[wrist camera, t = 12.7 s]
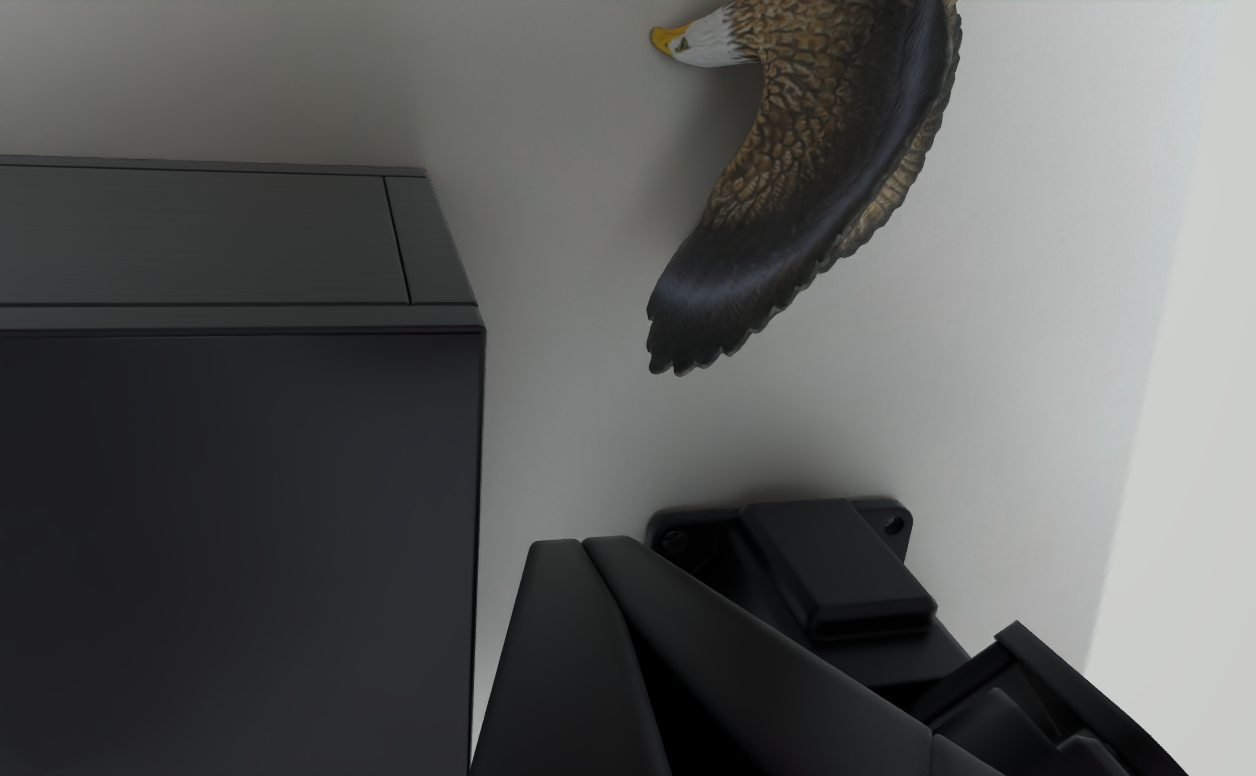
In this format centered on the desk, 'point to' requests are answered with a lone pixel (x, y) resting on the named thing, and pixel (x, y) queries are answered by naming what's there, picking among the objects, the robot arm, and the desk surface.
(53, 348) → the black drawer cabinet
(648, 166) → the desk surface
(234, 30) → the desk surface
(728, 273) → the eagle figurine
